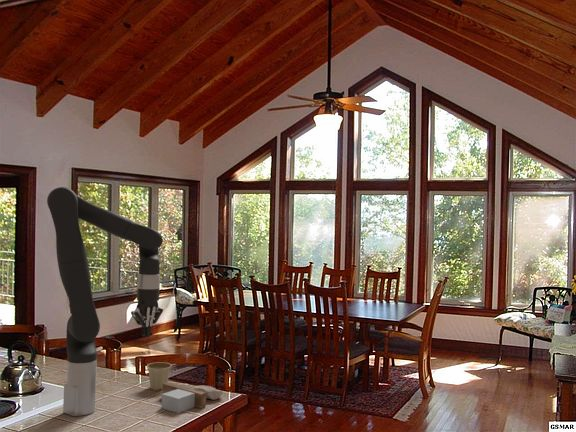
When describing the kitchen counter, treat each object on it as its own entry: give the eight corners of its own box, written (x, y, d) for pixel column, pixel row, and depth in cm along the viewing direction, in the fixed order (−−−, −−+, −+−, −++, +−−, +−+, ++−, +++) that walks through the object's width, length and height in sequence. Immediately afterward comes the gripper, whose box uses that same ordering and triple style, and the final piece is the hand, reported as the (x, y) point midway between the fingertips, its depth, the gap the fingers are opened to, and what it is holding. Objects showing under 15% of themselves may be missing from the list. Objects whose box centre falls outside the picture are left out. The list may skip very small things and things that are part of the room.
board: (200, 408, 202) (201, 394, 202) (162, 397, 213) (162, 383, 213) (205, 406, 204) (206, 392, 204) (166, 395, 215) (167, 382, 215)
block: (178, 413, 197) (178, 398, 197) (161, 408, 202) (161, 394, 202) (194, 407, 204) (195, 393, 204) (178, 402, 208) (178, 388, 208)
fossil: (203, 384, 221) (224, 378, 217) (207, 401, 219) (228, 395, 215) (188, 387, 213) (209, 381, 209) (192, 406, 212) (214, 399, 207)
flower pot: (168, 392, 219) (168, 369, 219) (143, 391, 220) (143, 368, 219) (173, 384, 229) (174, 362, 229) (149, 383, 229) (150, 361, 229)
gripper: (140, 289, 195) (138, 341, 195) (170, 286, 206) (168, 336, 206) (126, 287, 199) (123, 338, 199) (155, 284, 210) (153, 332, 210)
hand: (146, 336), depth 202 cm, fingers closed
